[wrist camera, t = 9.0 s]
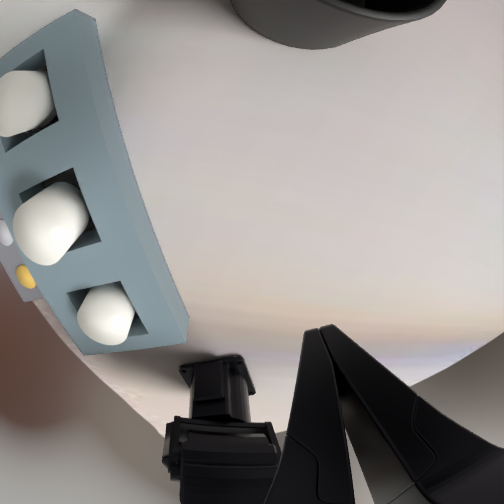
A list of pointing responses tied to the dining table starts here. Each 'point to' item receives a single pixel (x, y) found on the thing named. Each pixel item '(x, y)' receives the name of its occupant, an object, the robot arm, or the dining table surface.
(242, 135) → the dining table surface
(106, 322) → the button
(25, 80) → the button
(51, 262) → the button mid
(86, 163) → the button board
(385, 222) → the dining table surface
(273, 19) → the mug
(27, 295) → the card
